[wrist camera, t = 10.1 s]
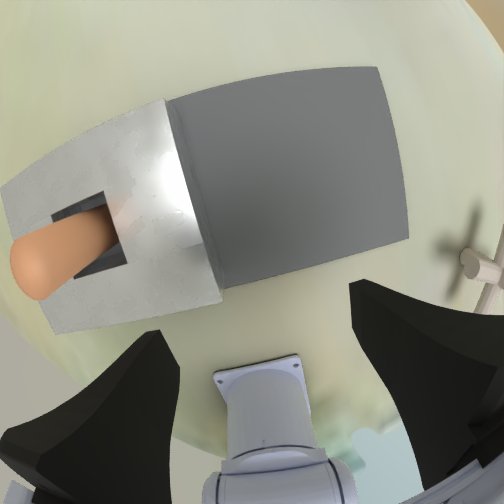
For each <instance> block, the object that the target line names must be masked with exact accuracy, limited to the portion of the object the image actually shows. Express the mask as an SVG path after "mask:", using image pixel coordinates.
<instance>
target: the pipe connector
mask: <svg viewBox="0 0 504 504" xmlns="http://www.w3.org/2000/svg"><path fill="white" fill-rule="evenodd" d="M460 263H461V264H462V265H464V272H465V275H466V277H467V278H468V279H473V280H477V281H482V282H486V283H485V286H484V288H483V291H482V293H481V296H480V298H479V301H478V303H477V305H476V308H475V310H474V312H473V313H477V314H485V315H490V314H491V312H492V309H493V307H494V305H495V302H496V300H497V298H498V295H499V293H500V290H501V288H502V289H504V225H503V229H502V233H501V236H500V240H499V244H498V247H497V251H496V254H495V257H494V260H491V259H489V258H487V257H485V256H484V255H482V254H480V253H478V252H476V251H474V250H472V249H470V248H465V249H463V251H462V252H461V255H460Z"/></svg>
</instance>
